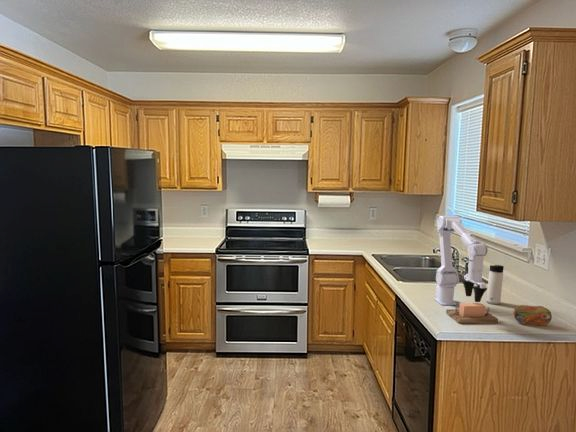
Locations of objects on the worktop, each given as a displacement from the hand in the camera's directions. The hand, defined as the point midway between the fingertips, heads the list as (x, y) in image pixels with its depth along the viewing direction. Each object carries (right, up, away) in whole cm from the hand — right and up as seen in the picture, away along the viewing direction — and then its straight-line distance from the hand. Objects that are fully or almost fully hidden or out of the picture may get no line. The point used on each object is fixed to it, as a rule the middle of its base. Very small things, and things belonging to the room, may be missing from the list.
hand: (472, 298), depth 185 cm
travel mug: (+21, -7, +23) cm, 32 cm away
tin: (+24, -11, -4) cm, 27 cm away
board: (0, -9, +1) cm, 9 cm away
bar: (0, -9, +1) cm, 9 cm away
